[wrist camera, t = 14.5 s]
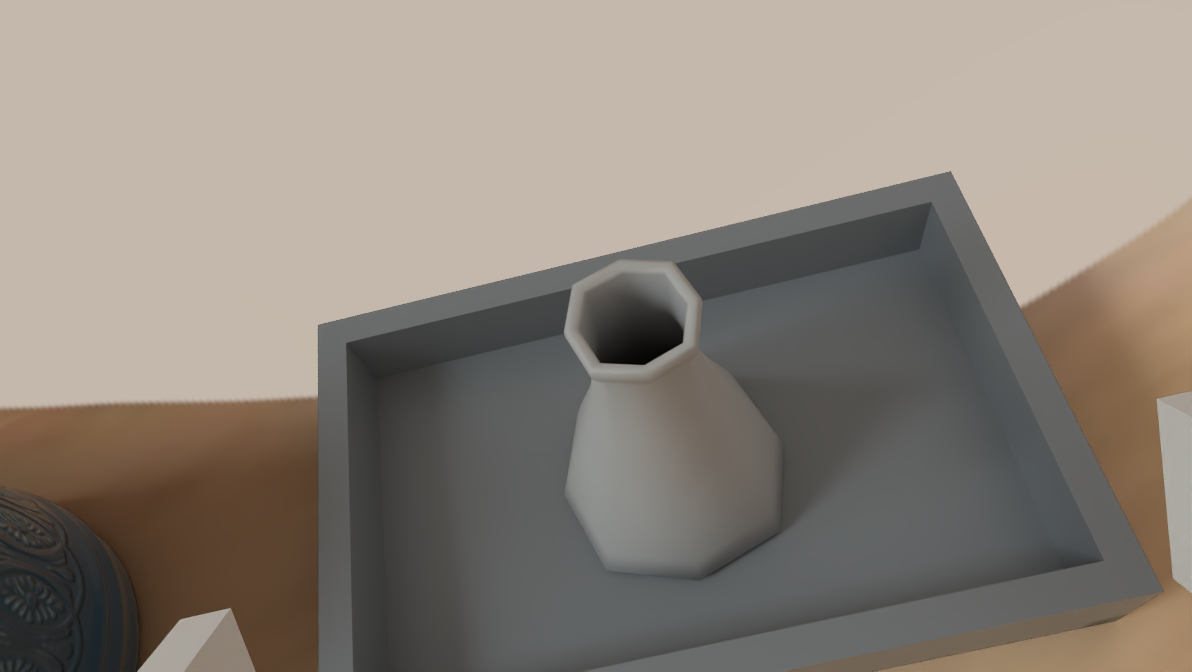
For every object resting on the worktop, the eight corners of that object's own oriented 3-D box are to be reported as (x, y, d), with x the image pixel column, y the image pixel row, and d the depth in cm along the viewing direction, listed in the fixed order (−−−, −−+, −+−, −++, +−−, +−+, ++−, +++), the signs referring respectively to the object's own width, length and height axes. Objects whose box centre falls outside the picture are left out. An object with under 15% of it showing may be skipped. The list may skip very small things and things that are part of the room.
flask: (549, 400, 30) (461, 229, 22) (753, 351, 30) (747, 156, 21) (584, 609, 26) (495, 501, 18) (818, 556, 26) (842, 419, 17)
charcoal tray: (371, 776, 26) (318, 768, 23) (358, 370, 33) (317, 325, 30) (1115, 620, 25) (1163, 591, 22) (933, 233, 32) (950, 171, 29)
